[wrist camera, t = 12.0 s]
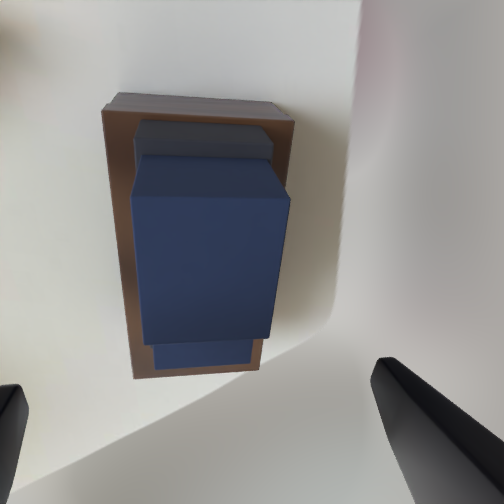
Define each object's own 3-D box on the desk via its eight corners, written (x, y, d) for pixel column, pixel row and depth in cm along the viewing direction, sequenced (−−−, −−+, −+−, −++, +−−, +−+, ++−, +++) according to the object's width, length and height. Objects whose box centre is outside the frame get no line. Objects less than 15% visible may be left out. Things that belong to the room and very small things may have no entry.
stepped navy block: (139, 118, 13) (117, 176, 8) (261, 125, 14) (302, 180, 9) (153, 311, 18) (143, 417, 13) (243, 308, 19) (264, 405, 14)
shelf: (117, 89, 16) (100, 110, 13) (272, 99, 18) (295, 120, 14) (139, 326, 24) (132, 380, 20) (248, 320, 25) (259, 370, 21)
